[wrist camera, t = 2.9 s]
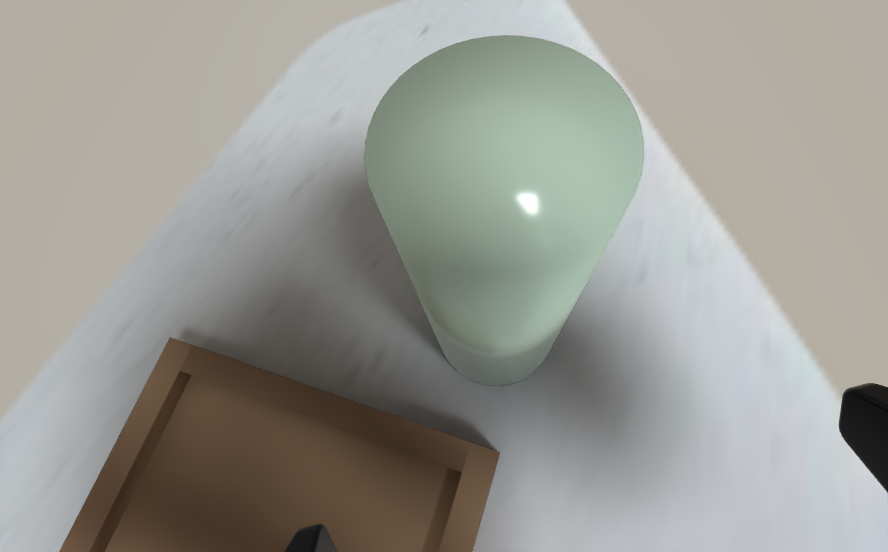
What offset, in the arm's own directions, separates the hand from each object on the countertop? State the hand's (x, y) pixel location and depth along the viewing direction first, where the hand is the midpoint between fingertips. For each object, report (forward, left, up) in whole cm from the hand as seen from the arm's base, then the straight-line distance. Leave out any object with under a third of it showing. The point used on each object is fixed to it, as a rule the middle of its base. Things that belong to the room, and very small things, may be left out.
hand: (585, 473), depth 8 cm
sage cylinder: (+4, +3, -10) cm, 12 cm away
